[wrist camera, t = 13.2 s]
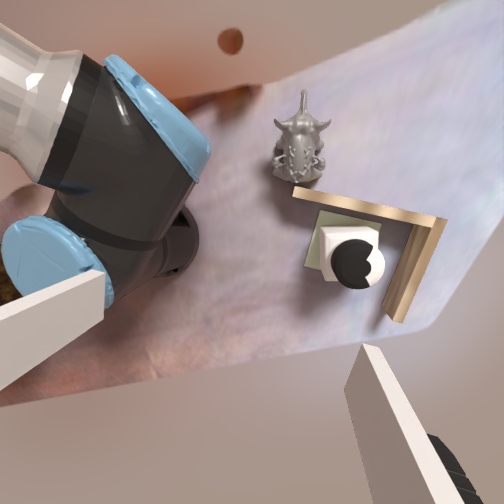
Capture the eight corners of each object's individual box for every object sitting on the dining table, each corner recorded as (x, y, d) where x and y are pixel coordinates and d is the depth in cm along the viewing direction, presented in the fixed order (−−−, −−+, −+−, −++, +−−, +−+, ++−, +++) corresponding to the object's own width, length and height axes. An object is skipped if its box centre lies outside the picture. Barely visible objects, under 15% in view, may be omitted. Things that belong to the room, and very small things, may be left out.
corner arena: (271, 277, 45) (269, 288, 40) (294, 186, 40) (294, 186, 35) (389, 308, 43) (402, 323, 38) (428, 215, 38) (447, 219, 33)
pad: (303, 265, 43) (304, 266, 43) (320, 209, 40) (320, 209, 40) (360, 279, 42) (361, 280, 42) (381, 223, 40) (382, 223, 39)
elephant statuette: (277, 190, 41) (276, 193, 34) (257, 114, 38) (250, 100, 31) (333, 173, 39) (344, 173, 32) (316, 91, 36) (324, 71, 29)
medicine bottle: (319, 267, 43) (329, 295, 31) (319, 226, 41) (329, 241, 29) (363, 265, 41) (390, 295, 30) (364, 223, 40) (394, 238, 28)
